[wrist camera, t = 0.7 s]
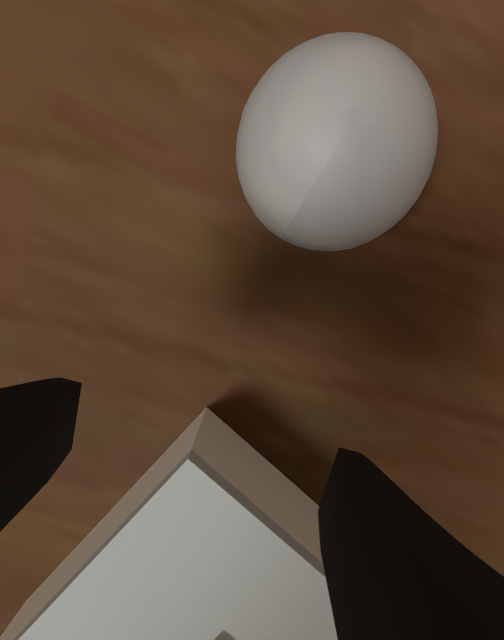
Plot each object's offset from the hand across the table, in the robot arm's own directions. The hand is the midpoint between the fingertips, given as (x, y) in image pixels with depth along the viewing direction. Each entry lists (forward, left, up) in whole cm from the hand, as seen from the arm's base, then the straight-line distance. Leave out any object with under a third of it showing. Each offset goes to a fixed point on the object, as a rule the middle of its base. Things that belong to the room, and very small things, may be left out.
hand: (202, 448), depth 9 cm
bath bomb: (+10, +3, -10) cm, 15 cm away
